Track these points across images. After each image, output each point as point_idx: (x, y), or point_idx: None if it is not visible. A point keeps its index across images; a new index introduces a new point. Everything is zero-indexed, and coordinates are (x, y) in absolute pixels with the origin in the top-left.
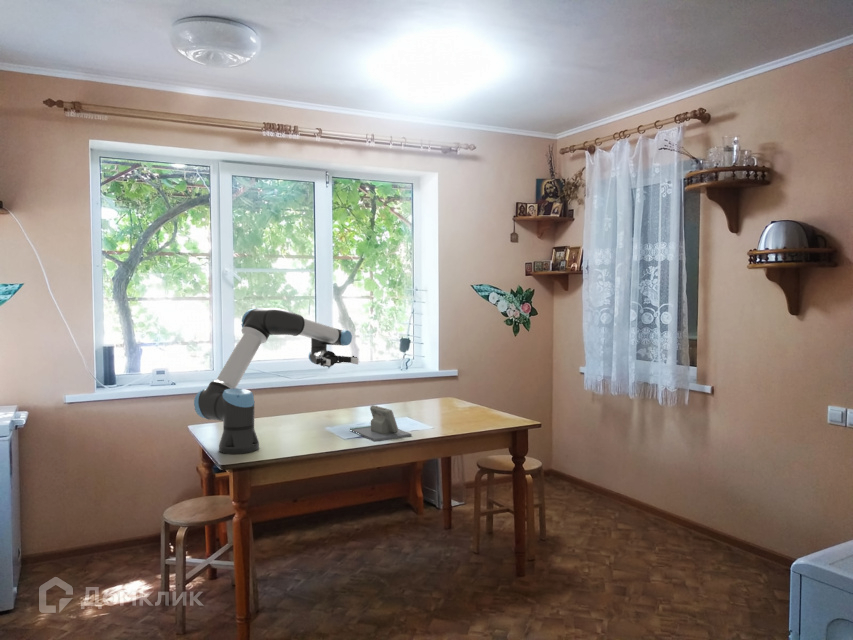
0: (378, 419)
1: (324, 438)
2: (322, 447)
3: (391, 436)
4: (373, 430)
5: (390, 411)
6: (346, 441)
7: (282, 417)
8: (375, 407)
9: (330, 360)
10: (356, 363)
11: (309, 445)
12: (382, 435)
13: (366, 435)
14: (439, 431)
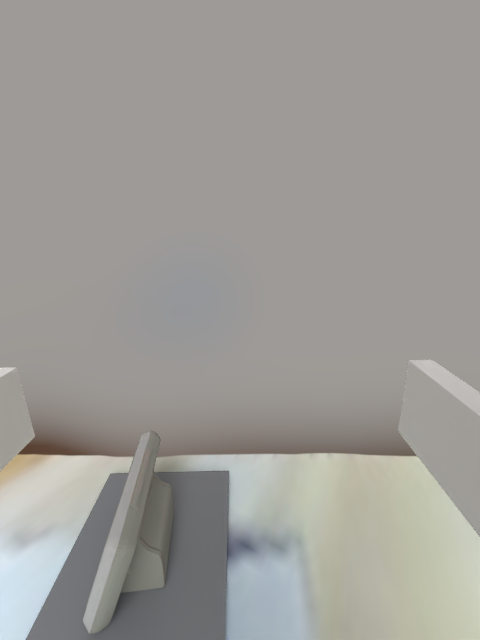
0: (154, 510)
1: (375, 599)
2: (378, 485)
3: (173, 473)
4: (167, 561)
5: (153, 431)
6: (300, 512)
7: None
8: (138, 502)
9: (407, 369)
10: (26, 433)
11: (423, 522)
12: (185, 494)
13: (225, 517)
14: (3, 488)
